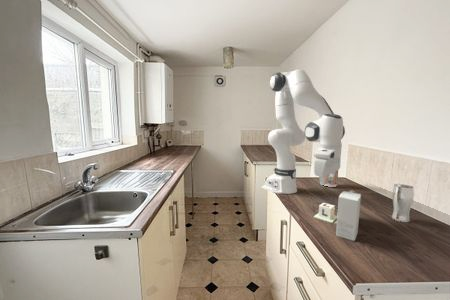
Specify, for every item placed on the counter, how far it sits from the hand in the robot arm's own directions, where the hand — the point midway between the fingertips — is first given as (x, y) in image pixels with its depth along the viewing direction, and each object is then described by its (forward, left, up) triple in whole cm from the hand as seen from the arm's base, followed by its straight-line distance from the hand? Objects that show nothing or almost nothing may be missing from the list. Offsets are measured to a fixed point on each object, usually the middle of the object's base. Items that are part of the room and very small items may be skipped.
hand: (327, 182), depth 94 cm
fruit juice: (-17, +51, -16) cm, 56 cm away
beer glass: (+24, +21, -16) cm, 36 cm away
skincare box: (+12, -10, -16) cm, 22 cm away
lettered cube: (+1, 0, -16) cm, 16 cm away
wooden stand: (+8, +2, -16) cm, 18 cm away
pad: (+1, 0, -16) cm, 16 cm away
